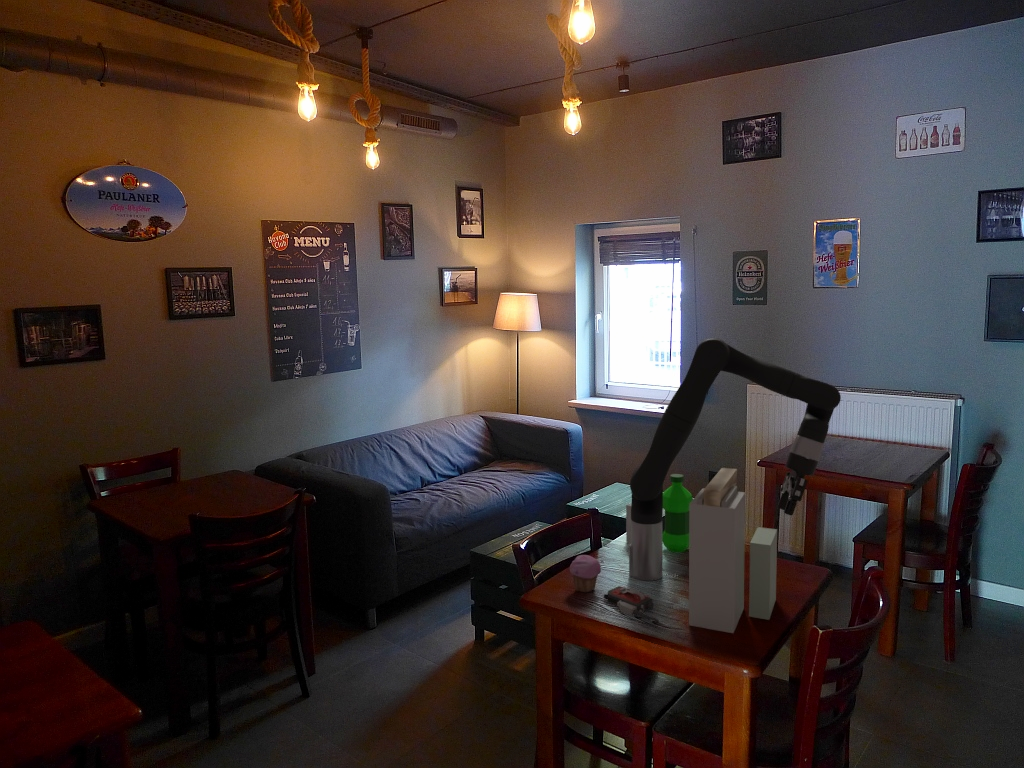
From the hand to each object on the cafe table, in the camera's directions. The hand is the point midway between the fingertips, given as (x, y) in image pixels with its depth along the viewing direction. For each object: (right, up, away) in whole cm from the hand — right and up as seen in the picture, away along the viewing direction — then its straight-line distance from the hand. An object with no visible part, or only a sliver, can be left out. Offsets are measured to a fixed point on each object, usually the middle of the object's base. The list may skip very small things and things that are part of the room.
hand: (784, 511), depth 195 cm
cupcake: (-53, -25, +12) cm, 59 cm away
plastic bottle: (-20, -20, +41) cm, 50 cm away
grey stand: (-20, -26, -7) cm, 34 cm away
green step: (-7, -25, -3) cm, 26 cm away
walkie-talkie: (-40, -27, -1) cm, 48 cm away
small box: (-30, -19, +50) cm, 61 cm away
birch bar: (-19, +6, -8) cm, 22 cm away
